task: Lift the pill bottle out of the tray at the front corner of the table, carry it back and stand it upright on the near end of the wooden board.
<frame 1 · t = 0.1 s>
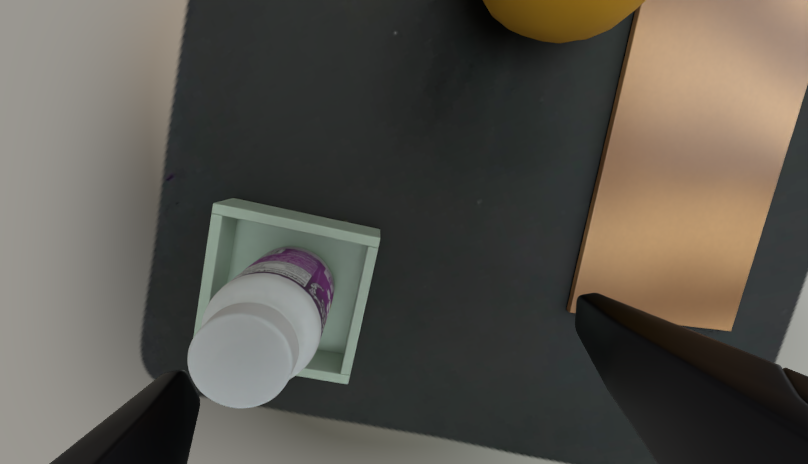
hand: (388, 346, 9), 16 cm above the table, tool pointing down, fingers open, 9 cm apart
tray: (294, 283, 24), on the table
pill bottle: (294, 284, 24), resting on tray
wooden board: (729, 13, 23), on the table
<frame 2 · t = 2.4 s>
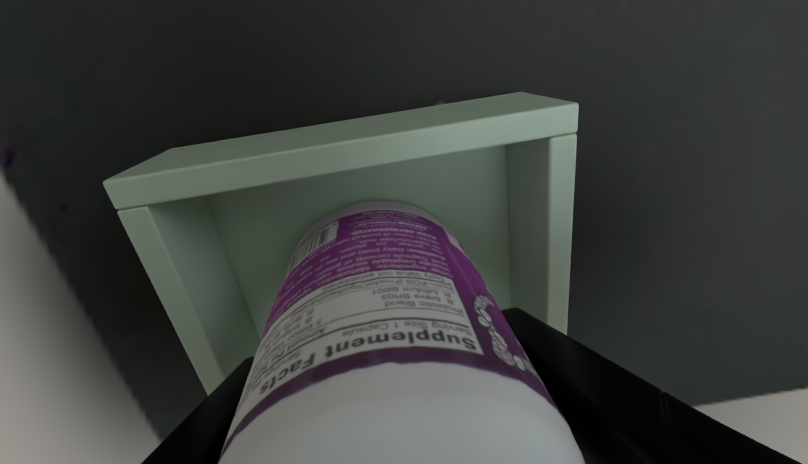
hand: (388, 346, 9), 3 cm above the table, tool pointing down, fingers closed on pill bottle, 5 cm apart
tray: (379, 271, 12), on the table
pill bottle: (379, 274, 12), resting on tray, touching gripper
when the fingers open (4 cm above the table, at t = 8.3 s): pill bottle stays where it is, resting on wooden board.
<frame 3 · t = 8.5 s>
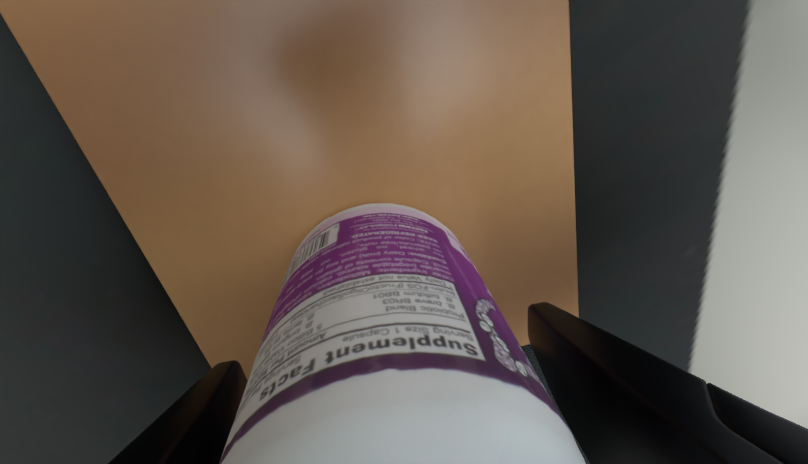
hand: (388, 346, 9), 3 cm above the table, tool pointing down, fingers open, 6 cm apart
pill bottle: (379, 277, 12), resting on wooden board
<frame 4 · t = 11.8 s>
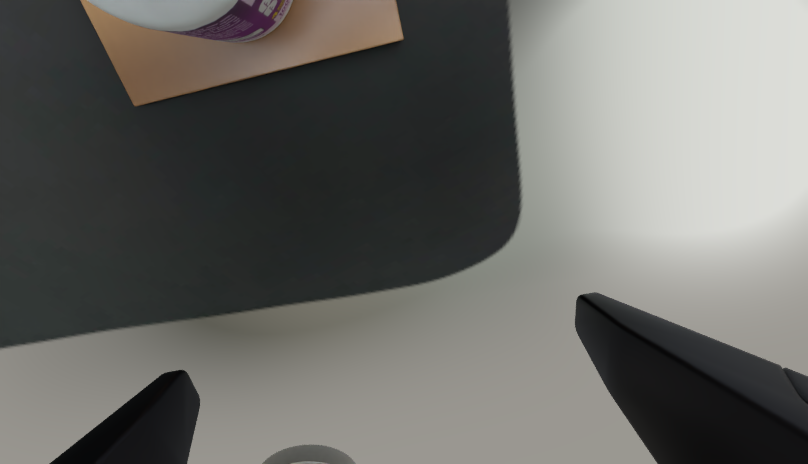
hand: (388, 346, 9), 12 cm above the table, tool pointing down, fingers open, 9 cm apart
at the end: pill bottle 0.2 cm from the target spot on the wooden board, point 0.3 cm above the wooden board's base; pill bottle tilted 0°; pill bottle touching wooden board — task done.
